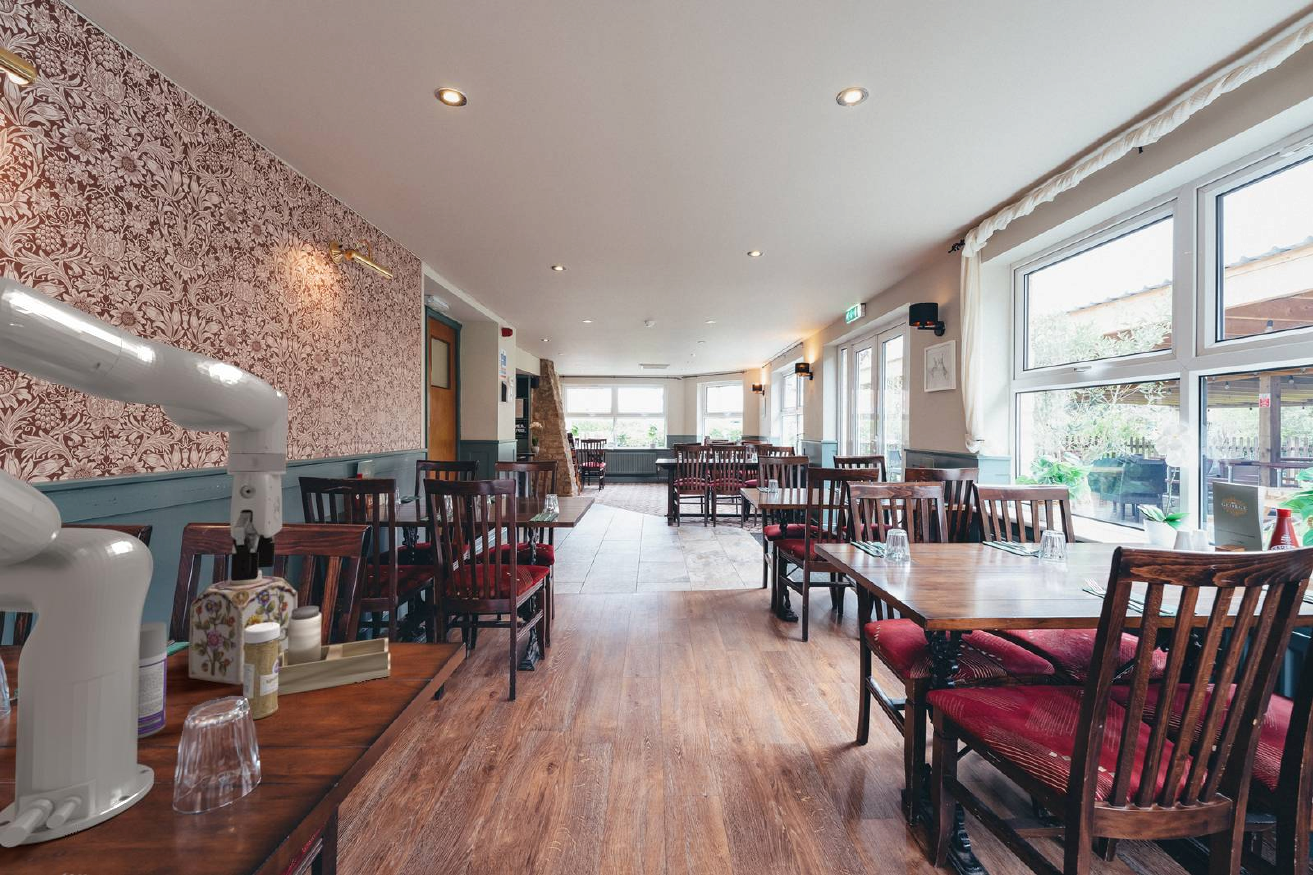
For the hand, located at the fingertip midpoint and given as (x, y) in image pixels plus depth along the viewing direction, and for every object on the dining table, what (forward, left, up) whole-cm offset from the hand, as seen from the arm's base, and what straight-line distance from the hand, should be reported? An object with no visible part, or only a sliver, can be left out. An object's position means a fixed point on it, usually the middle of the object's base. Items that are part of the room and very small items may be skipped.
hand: (253, 573), depth 85 cm
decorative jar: (+18, +4, -21) cm, 28 cm away
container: (-2, +12, -21) cm, 25 cm away
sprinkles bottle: (-3, -2, -21) cm, 22 cm away
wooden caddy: (+7, -11, -21) cm, 25 cm away
